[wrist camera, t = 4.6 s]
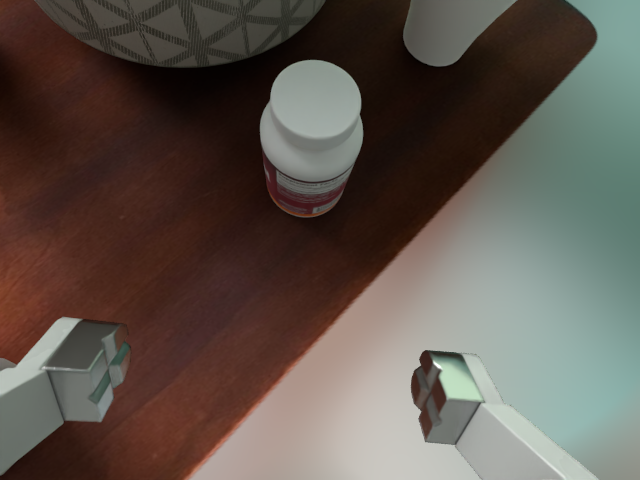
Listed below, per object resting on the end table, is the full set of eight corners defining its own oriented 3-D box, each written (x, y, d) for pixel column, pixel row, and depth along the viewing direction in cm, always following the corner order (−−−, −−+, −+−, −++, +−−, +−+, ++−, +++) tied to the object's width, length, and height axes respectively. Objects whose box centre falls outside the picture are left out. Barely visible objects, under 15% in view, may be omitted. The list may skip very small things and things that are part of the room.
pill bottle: (279, 140, 29) (276, 31, 19) (350, 160, 29) (388, 64, 19) (256, 208, 28) (238, 130, 17) (332, 229, 28) (361, 166, 17)
